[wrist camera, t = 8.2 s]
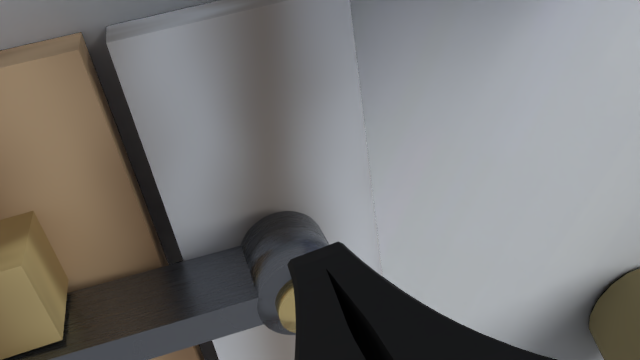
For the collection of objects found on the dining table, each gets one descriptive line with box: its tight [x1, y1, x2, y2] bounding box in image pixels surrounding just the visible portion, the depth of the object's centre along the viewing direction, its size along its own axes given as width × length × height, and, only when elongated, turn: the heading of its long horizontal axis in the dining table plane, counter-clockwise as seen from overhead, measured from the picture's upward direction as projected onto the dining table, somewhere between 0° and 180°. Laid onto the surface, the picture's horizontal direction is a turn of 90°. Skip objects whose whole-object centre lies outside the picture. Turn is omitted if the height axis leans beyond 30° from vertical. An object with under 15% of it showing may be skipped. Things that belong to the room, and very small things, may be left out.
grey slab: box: [0, 0, 383, 360], centre depth 22 cm, size 19×22×5 cm
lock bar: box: [2, 211, 329, 360], centre depth 19 cm, size 14×3×4 cm, turn 97°
